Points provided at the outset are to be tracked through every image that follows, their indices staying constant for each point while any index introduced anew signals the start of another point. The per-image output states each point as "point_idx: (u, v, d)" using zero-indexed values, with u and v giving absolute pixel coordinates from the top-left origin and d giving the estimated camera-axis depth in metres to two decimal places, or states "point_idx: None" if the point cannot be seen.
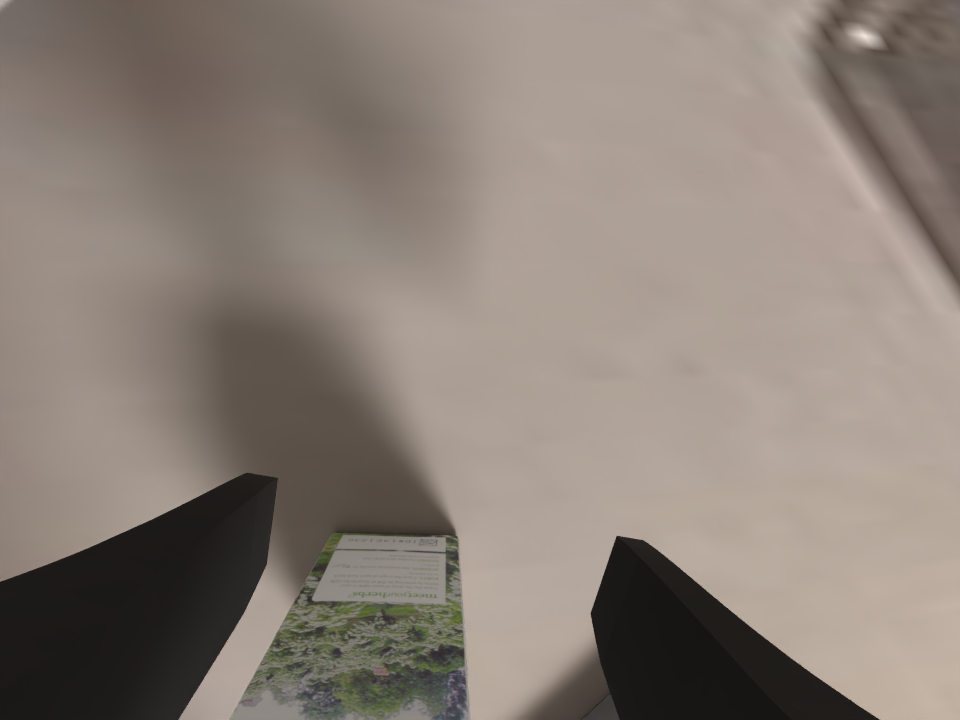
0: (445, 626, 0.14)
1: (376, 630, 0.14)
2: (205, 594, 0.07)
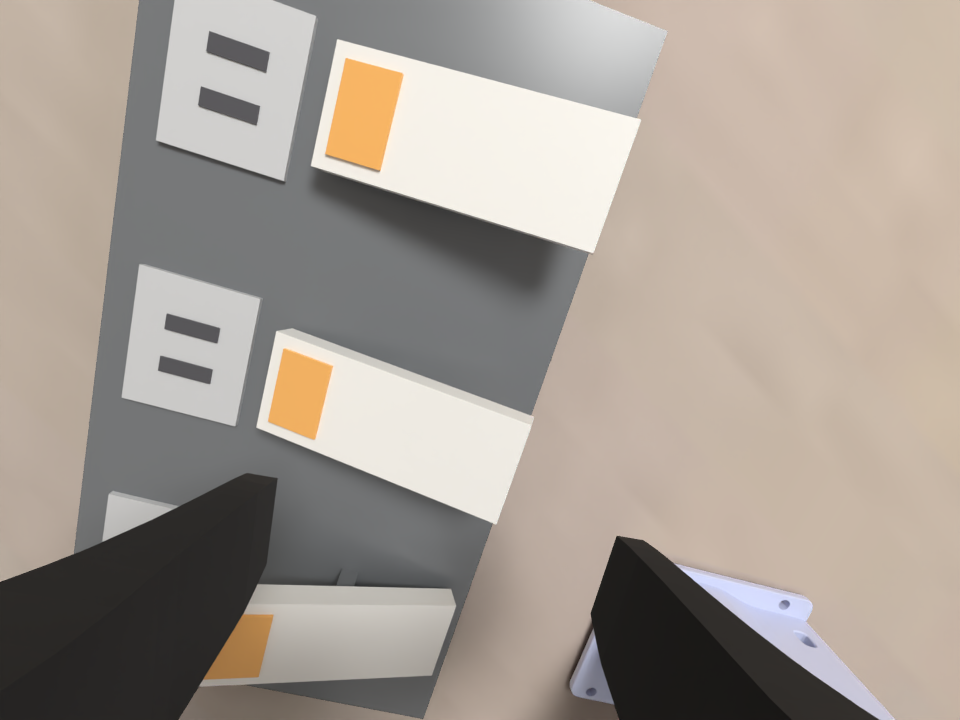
0: None
1: None
2: (205, 594, 0.07)
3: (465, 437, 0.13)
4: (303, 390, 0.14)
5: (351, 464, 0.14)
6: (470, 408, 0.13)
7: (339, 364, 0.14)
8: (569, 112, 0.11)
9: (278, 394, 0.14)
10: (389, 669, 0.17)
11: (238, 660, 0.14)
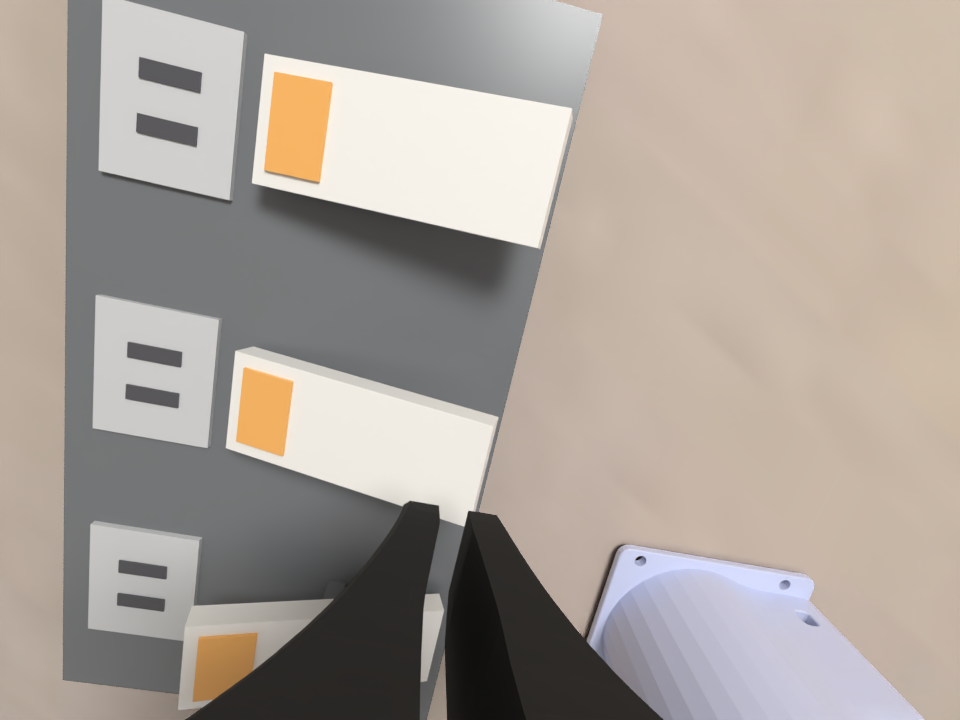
0: None
1: None
2: None
3: (430, 443, 0.13)
4: (267, 408, 0.14)
5: (321, 478, 0.14)
6: (432, 413, 0.13)
7: (299, 379, 0.14)
8: (499, 107, 0.11)
9: (243, 413, 0.14)
10: None
11: (227, 680, 0.15)
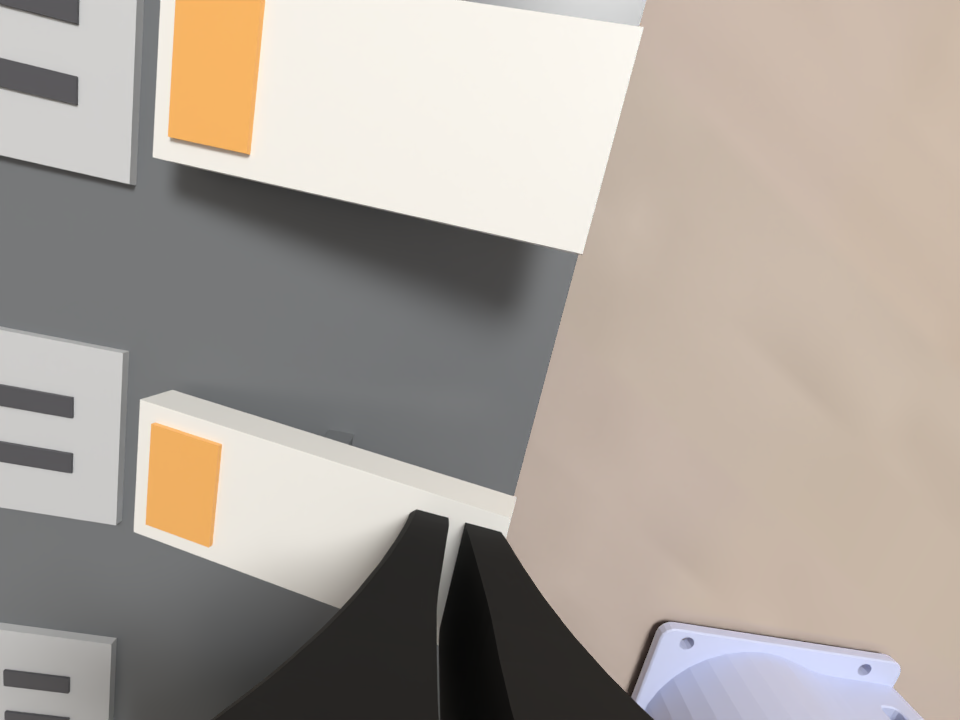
0: None
1: None
2: None
3: None
4: (185, 480, 0.10)
5: (264, 578, 0.10)
6: (419, 496, 0.09)
7: (229, 442, 0.09)
8: (524, 29, 0.07)
9: (153, 487, 0.10)
10: None
11: None
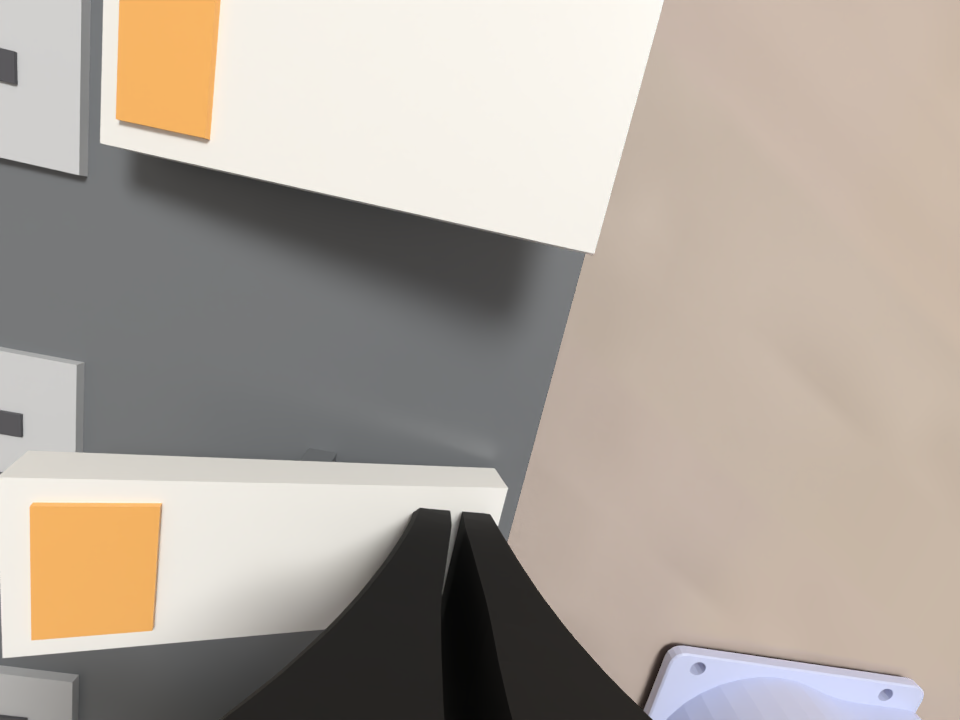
0: None
1: None
2: None
3: None
4: (105, 563, 0.07)
5: (238, 635, 0.08)
6: (424, 493, 0.09)
7: (173, 497, 0.07)
8: None
9: (44, 588, 0.07)
10: None
11: None
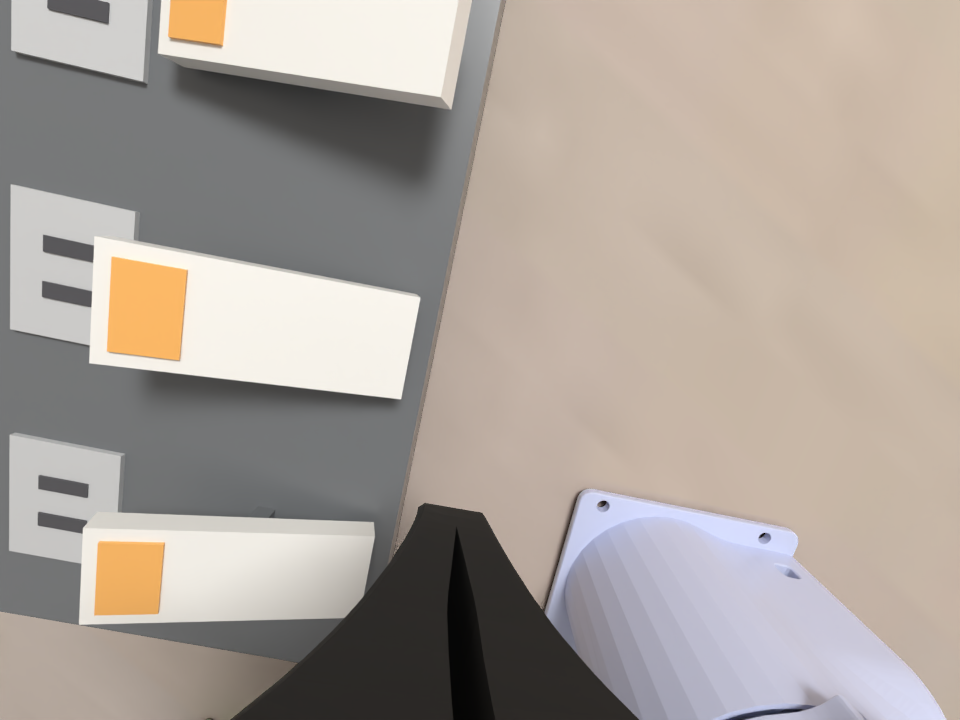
0: None
1: None
2: None
3: (358, 322, 0.13)
4: (152, 304, 0.12)
5: (233, 378, 0.13)
6: (359, 291, 0.13)
7: (195, 267, 0.12)
8: None
9: (116, 314, 0.12)
10: (309, 609, 0.15)
11: (131, 594, 0.14)
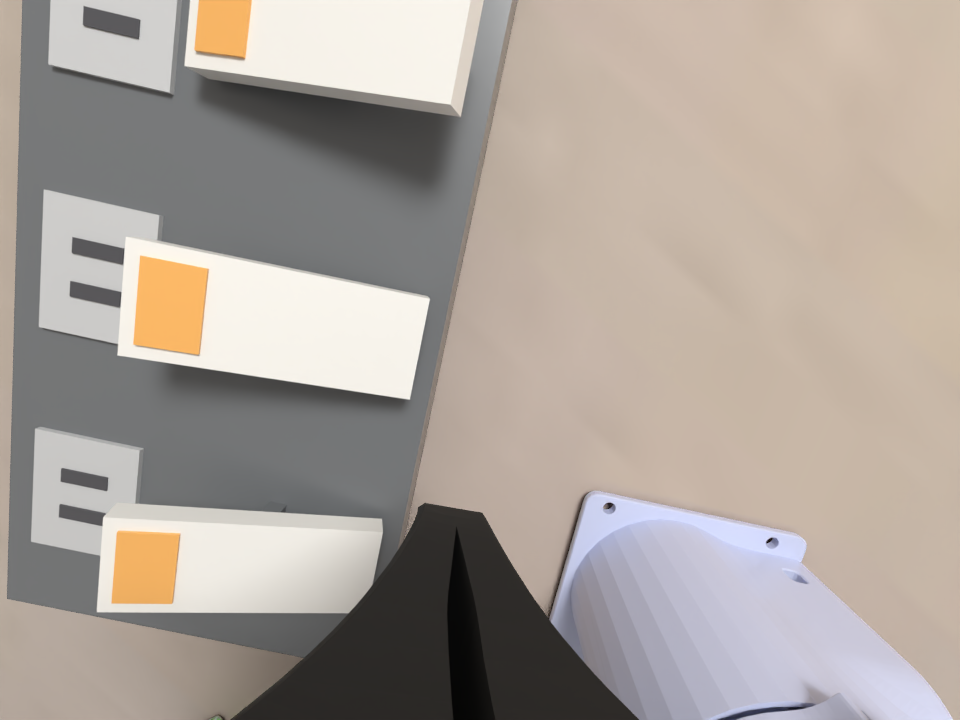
0: None
1: None
2: None
3: (369, 322, 0.14)
4: (175, 301, 0.12)
5: (248, 373, 0.13)
6: (369, 292, 0.13)
7: (216, 266, 0.13)
8: None
9: (142, 310, 0.12)
10: (318, 603, 0.16)
11: (147, 583, 0.14)
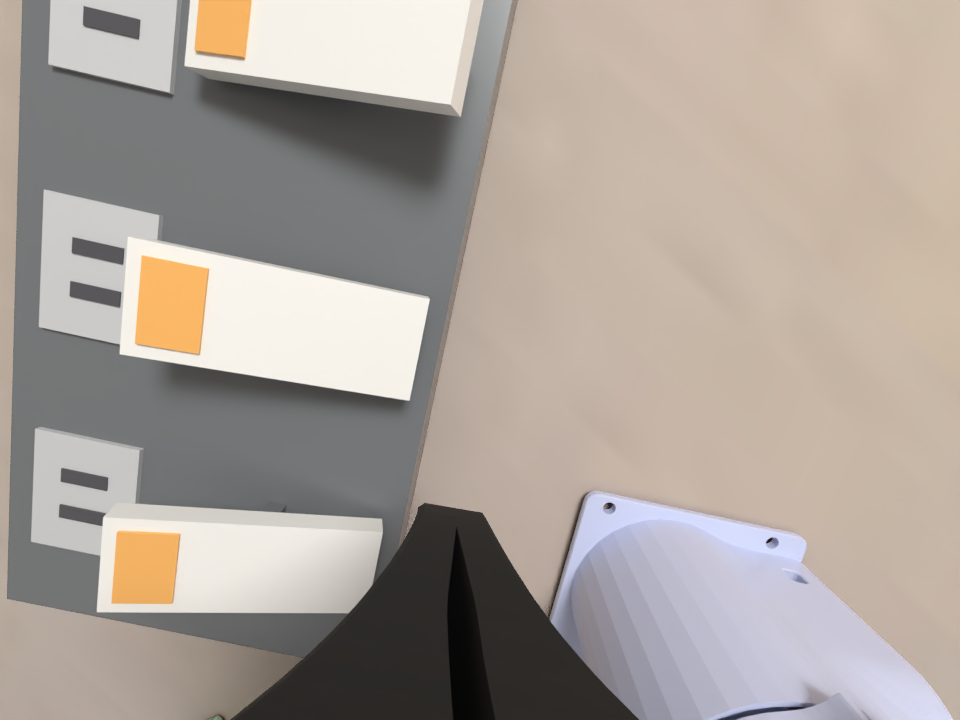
0: None
1: None
2: None
3: (368, 322, 0.14)
4: (176, 300, 0.13)
5: (248, 373, 0.13)
6: (369, 292, 0.13)
7: (215, 265, 0.13)
8: None
9: (144, 309, 0.12)
10: (318, 603, 0.16)
11: (147, 583, 0.14)
